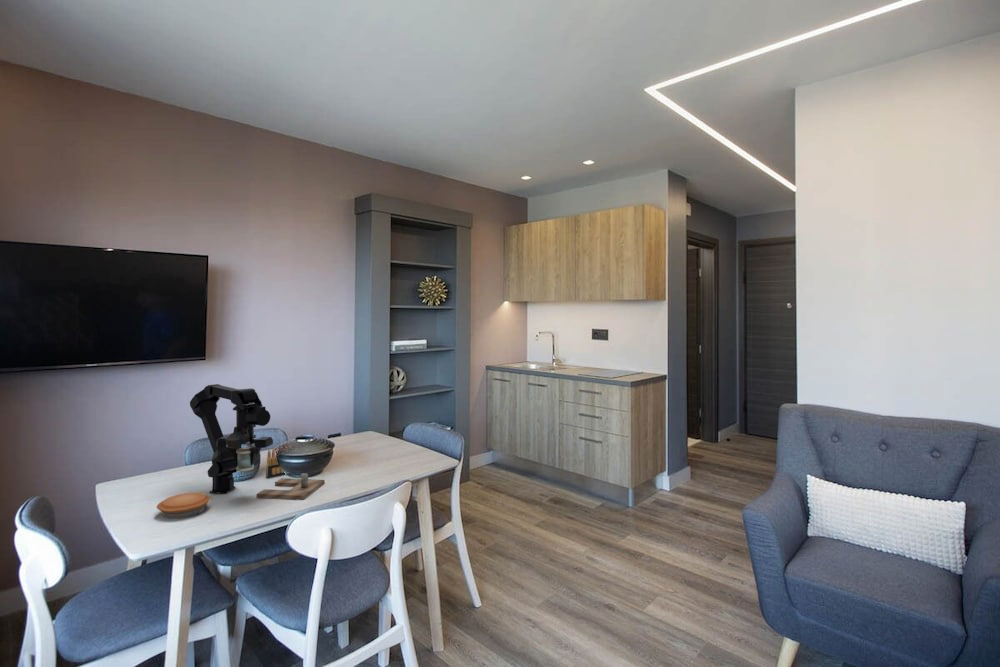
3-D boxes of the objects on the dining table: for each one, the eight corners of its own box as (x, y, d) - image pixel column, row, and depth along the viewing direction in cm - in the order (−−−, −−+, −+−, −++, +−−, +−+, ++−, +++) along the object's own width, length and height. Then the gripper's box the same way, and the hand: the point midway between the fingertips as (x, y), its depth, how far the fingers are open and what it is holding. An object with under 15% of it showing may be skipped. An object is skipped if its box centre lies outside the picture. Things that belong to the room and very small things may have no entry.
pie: (180, 502, 176) (180, 488, 175) (220, 504, 174) (220, 490, 174) (144, 519, 160) (144, 504, 160) (188, 522, 159) (188, 507, 158)
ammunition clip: (267, 478, 202) (267, 450, 202) (265, 477, 204) (265, 449, 203) (293, 473, 210) (293, 445, 210) (291, 472, 211) (291, 444, 211)
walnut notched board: (256, 497, 181) (256, 480, 180) (281, 481, 199) (281, 466, 198) (303, 499, 179) (303, 482, 179) (324, 483, 197) (324, 467, 197)
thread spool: (232, 470, 179) (232, 451, 179) (242, 466, 185) (242, 447, 184) (248, 471, 179) (248, 451, 178) (257, 466, 184) (257, 447, 184)
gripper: (206, 427, 174) (206, 470, 174) (257, 428, 172) (257, 472, 173) (226, 420, 185) (226, 461, 185) (273, 421, 184) (273, 463, 184)
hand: (245, 464), depth 182 cm, fingers closed on thread spool, 5 cm apart
